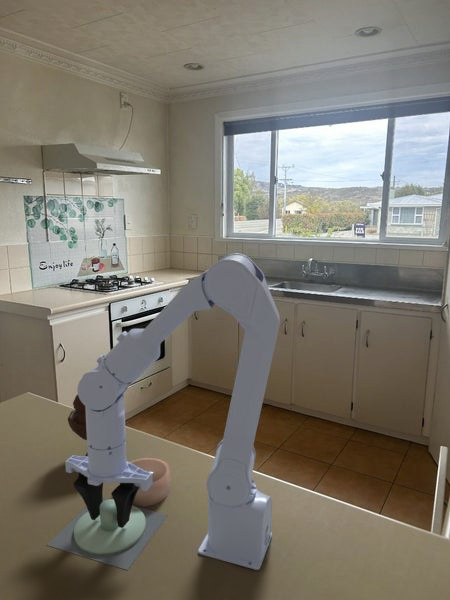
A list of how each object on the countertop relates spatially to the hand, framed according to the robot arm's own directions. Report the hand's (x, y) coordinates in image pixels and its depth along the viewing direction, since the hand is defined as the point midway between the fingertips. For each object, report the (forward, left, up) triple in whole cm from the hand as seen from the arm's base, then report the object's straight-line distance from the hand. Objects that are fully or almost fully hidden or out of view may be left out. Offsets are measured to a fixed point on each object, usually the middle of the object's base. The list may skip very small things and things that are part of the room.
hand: (110, 519), depth 71 cm
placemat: (0, 0, -2) cm, 2 cm away
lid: (0, 0, -2) cm, 2 cm away
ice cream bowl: (+15, -18, -2) cm, 24 cm away
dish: (0, -11, -2) cm, 11 cm away
